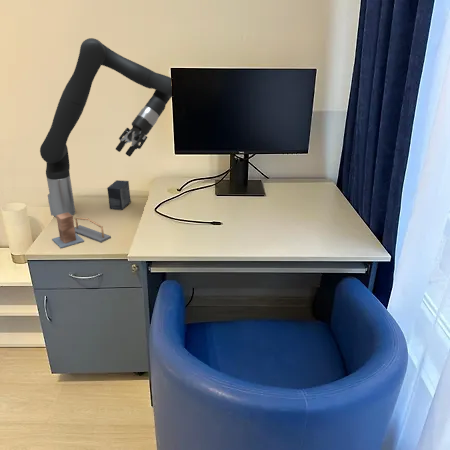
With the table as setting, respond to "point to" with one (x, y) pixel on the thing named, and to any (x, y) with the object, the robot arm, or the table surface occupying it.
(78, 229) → the board with wooden handle
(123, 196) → the small box
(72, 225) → the block
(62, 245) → the mat
